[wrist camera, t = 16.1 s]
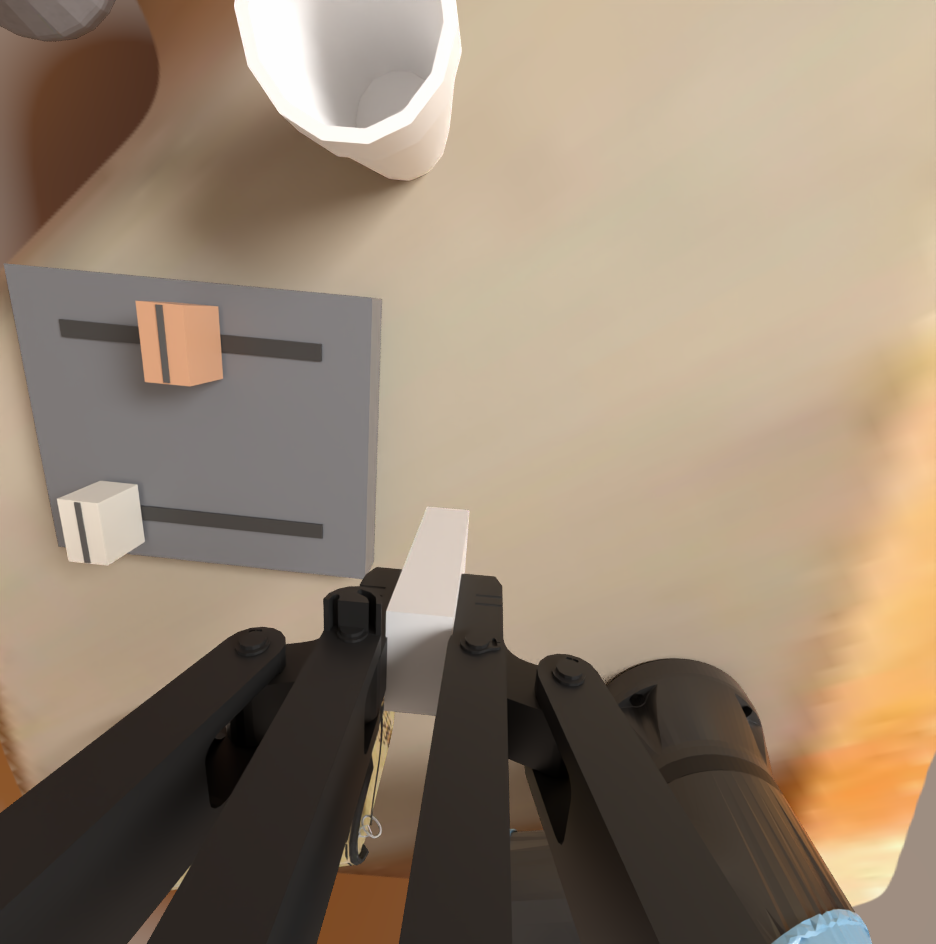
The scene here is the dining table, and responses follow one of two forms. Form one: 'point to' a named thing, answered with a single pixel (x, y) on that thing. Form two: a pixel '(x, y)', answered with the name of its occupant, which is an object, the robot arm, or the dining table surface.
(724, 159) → the dining table surface
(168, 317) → the fader
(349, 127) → the foam cup
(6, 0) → the coffee pot
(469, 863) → the robot arm
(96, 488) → the fader
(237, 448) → the slider panel
